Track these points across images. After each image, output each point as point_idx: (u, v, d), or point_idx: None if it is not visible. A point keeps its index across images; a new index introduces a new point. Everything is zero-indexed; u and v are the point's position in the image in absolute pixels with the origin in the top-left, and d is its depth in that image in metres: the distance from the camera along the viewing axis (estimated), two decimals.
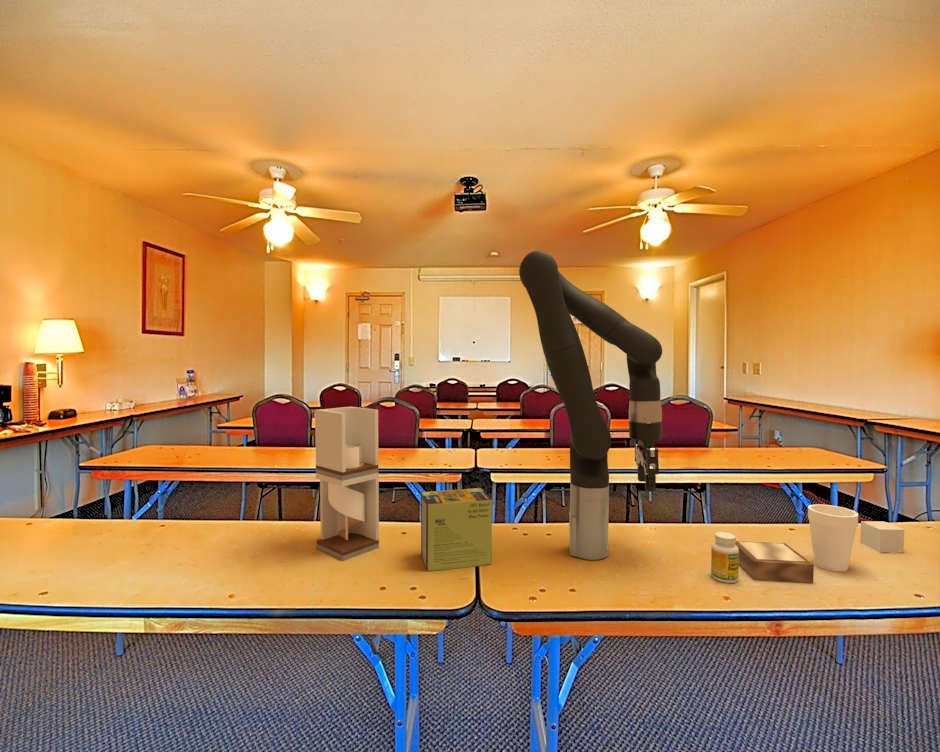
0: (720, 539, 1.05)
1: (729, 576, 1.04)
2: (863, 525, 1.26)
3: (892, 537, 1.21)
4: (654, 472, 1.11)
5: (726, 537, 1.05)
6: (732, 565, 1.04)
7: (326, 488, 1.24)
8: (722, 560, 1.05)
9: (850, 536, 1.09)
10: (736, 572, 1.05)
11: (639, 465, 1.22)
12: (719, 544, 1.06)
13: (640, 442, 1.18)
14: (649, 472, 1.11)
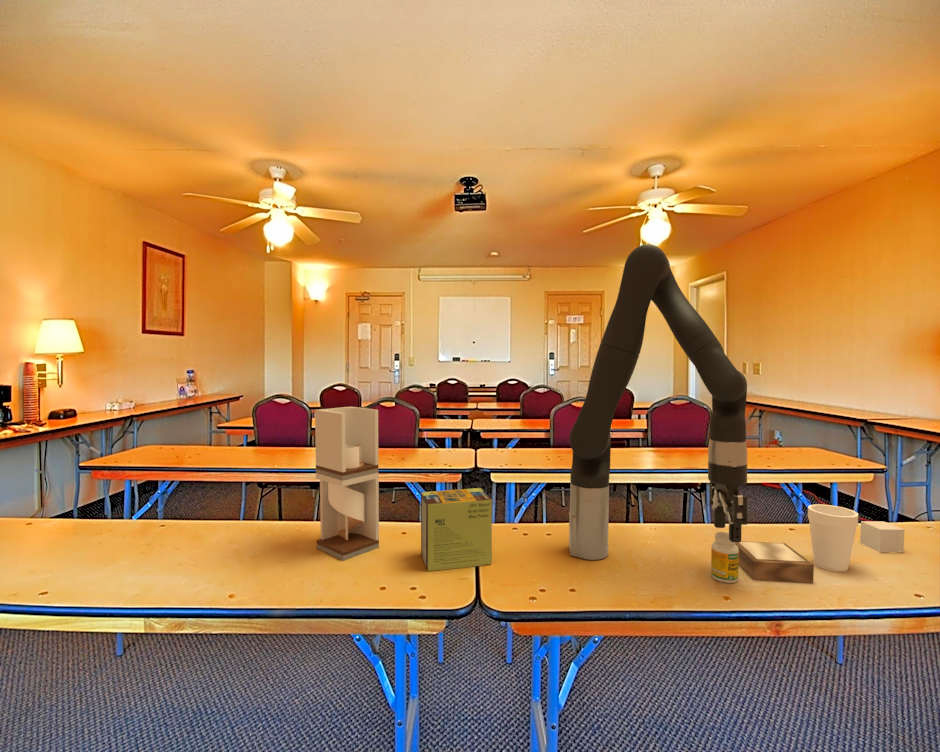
0: (720, 539, 1.05)
1: (729, 576, 1.04)
2: (863, 525, 1.26)
3: (892, 537, 1.21)
4: (742, 522, 1.00)
5: (726, 537, 1.05)
6: (732, 565, 1.04)
7: (326, 488, 1.24)
8: (722, 560, 1.05)
9: (850, 536, 1.09)
10: (736, 572, 1.05)
11: (716, 510, 1.11)
12: (719, 544, 1.06)
13: (720, 486, 1.07)
14: (736, 522, 1.00)
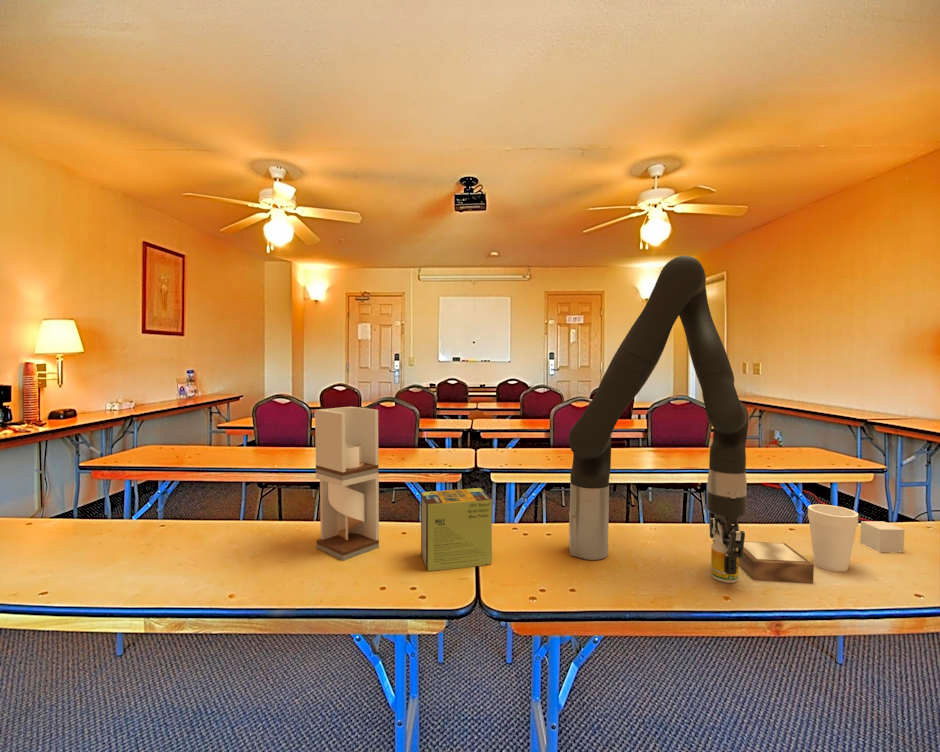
0: None
1: (729, 576, 1.04)
2: (863, 525, 1.26)
3: (892, 537, 1.21)
4: (737, 555, 1.01)
5: None
6: None
7: (326, 488, 1.24)
8: (722, 560, 1.05)
9: (850, 536, 1.09)
10: (736, 572, 1.05)
11: None
12: (719, 544, 1.06)
13: (719, 515, 1.07)
14: (731, 556, 1.01)
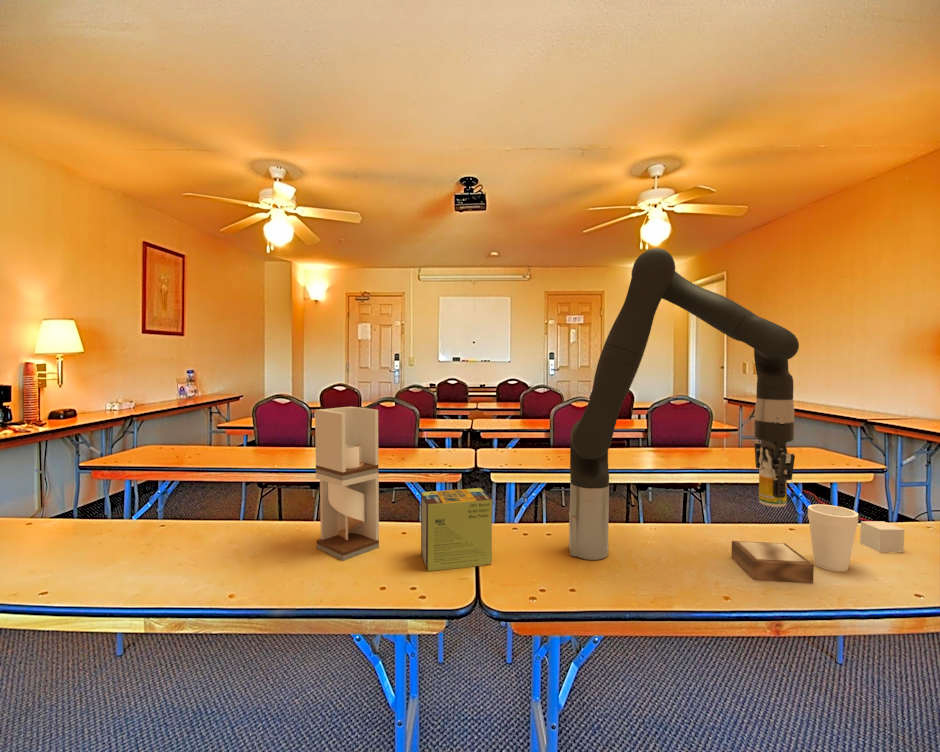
0: None
1: (778, 500, 1.08)
2: (863, 525, 1.26)
3: (892, 537, 1.21)
4: (787, 478, 1.05)
5: None
6: None
7: (326, 488, 1.24)
8: (770, 484, 1.08)
9: (850, 536, 1.09)
10: (785, 496, 1.08)
11: None
12: (767, 470, 1.10)
13: (767, 443, 1.11)
14: (781, 478, 1.05)
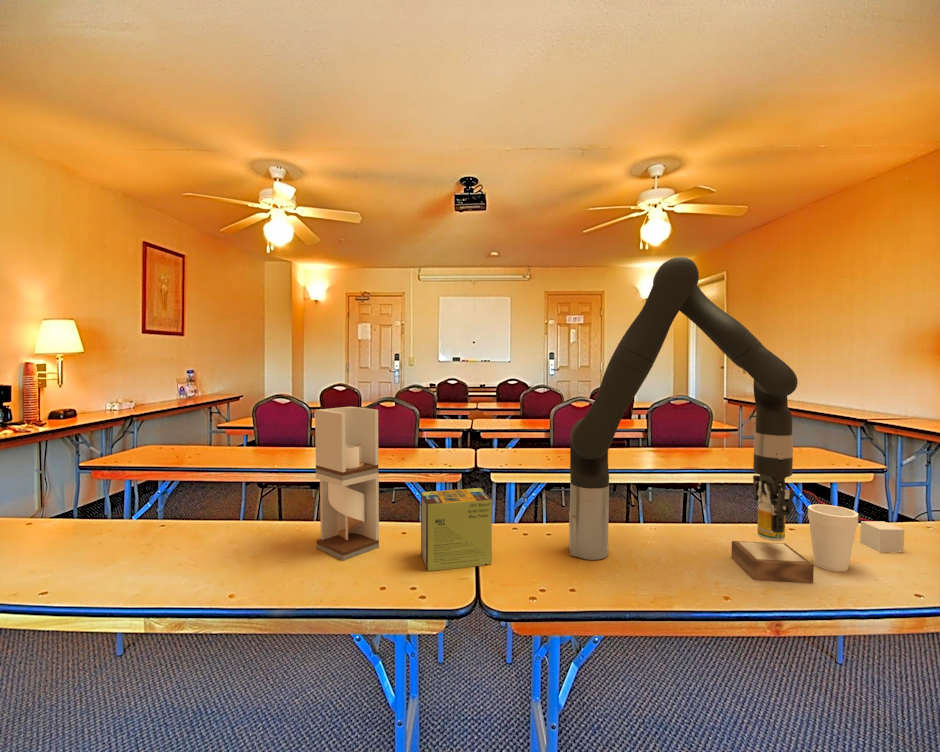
0: (767, 499, 1.10)
1: (777, 534, 1.09)
2: (863, 525, 1.26)
3: (892, 537, 1.21)
4: (785, 513, 1.05)
5: None
6: None
7: (326, 488, 1.24)
8: (769, 519, 1.09)
9: (850, 536, 1.09)
10: (783, 531, 1.09)
11: None
12: (766, 504, 1.10)
13: (765, 477, 1.11)
14: (780, 514, 1.05)
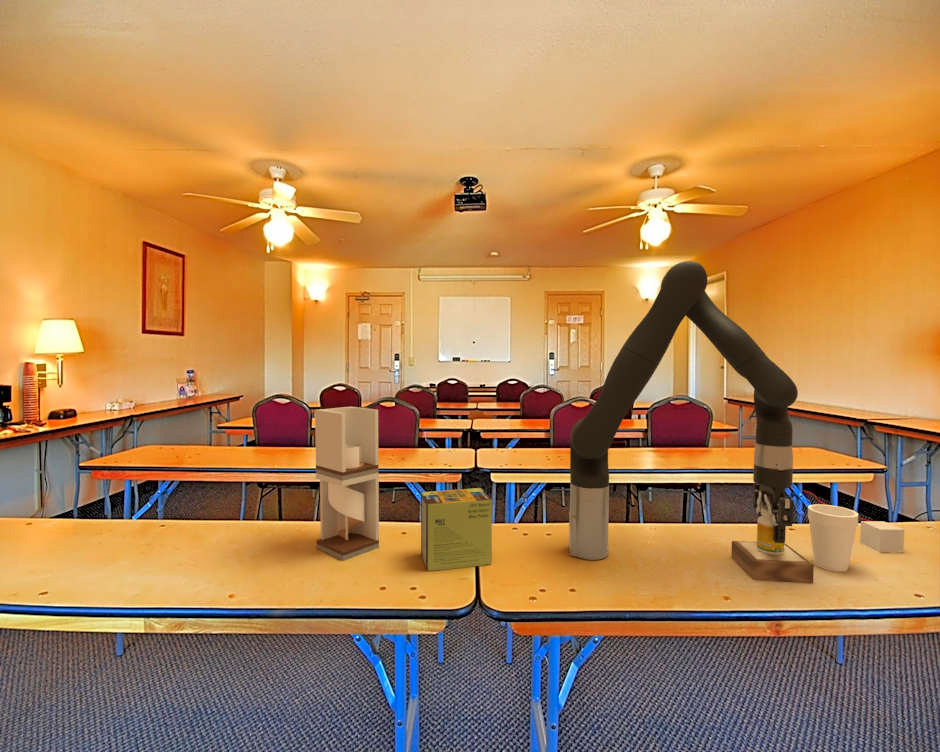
0: (767, 513, 1.10)
1: (776, 548, 1.09)
2: (863, 525, 1.26)
3: (892, 537, 1.21)
4: (787, 524, 1.04)
5: None
6: None
7: (326, 488, 1.24)
8: (768, 533, 1.09)
9: (850, 536, 1.09)
10: (782, 544, 1.09)
11: (760, 513, 1.15)
12: (765, 518, 1.10)
13: (765, 488, 1.11)
14: (782, 524, 1.05)
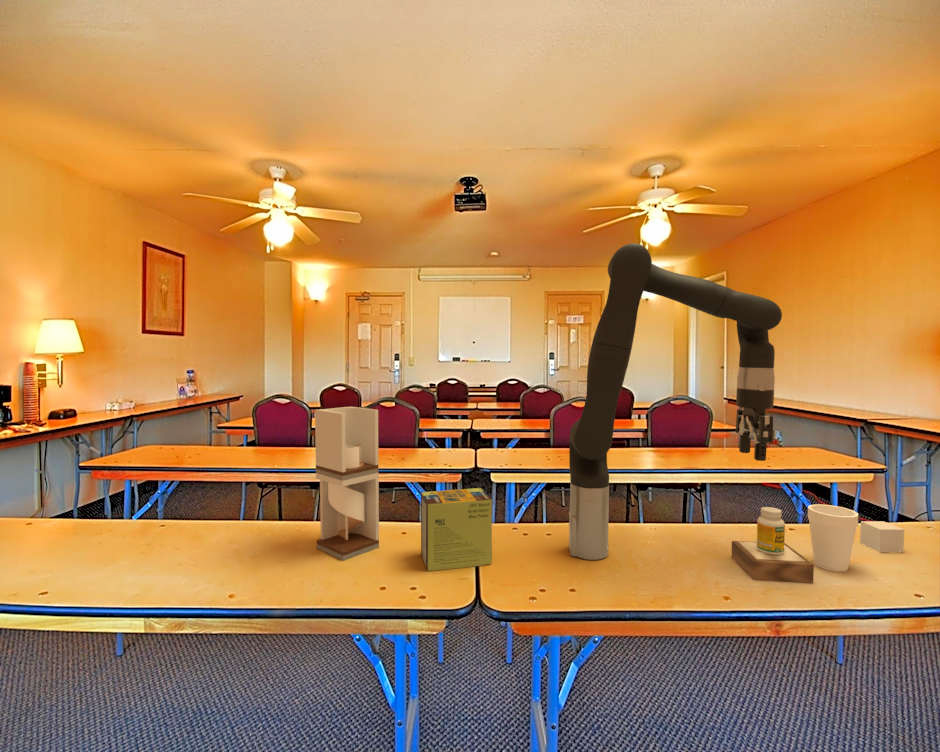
0: (767, 513, 1.10)
1: (776, 548, 1.09)
2: (863, 525, 1.26)
3: (892, 537, 1.21)
4: (767, 440, 1.07)
5: (773, 511, 1.09)
6: (778, 538, 1.08)
7: (326, 488, 1.24)
8: (768, 533, 1.09)
9: (850, 536, 1.09)
10: (782, 544, 1.09)
11: (742, 436, 1.18)
12: (765, 518, 1.10)
13: (748, 411, 1.15)
14: (762, 440, 1.07)
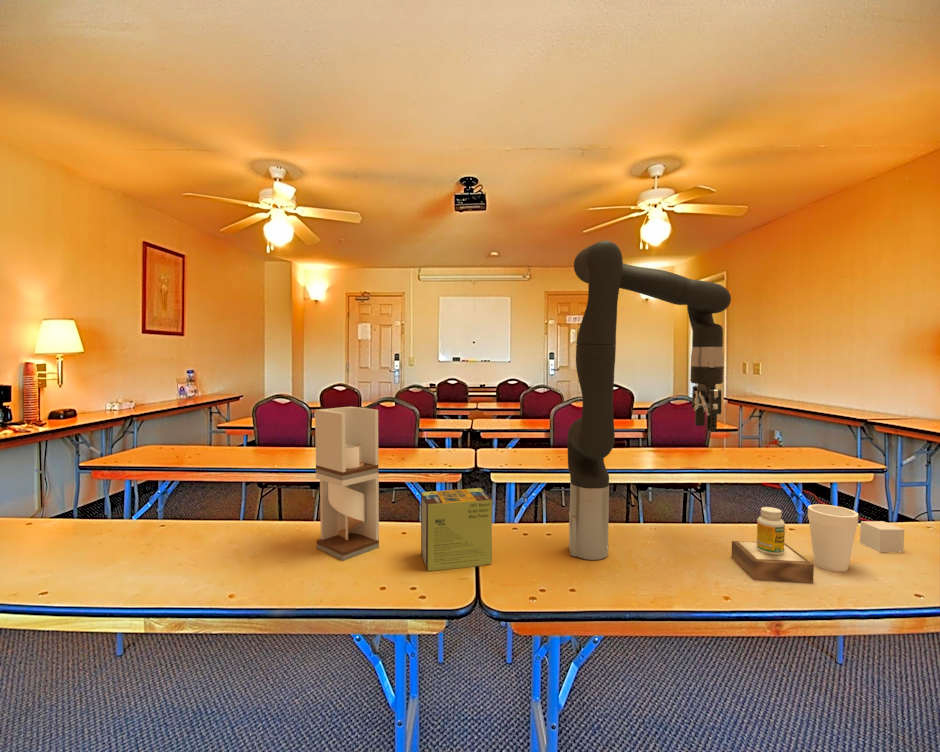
0: (767, 513, 1.10)
1: (776, 548, 1.09)
2: (862, 525, 1.26)
3: (892, 537, 1.21)
4: (717, 412, 1.18)
5: (773, 511, 1.09)
6: (778, 538, 1.08)
7: (326, 488, 1.24)
8: (768, 533, 1.09)
9: (850, 536, 1.09)
10: (782, 545, 1.09)
11: (697, 410, 1.29)
12: (765, 518, 1.10)
13: (701, 387, 1.26)
14: (712, 412, 1.18)
